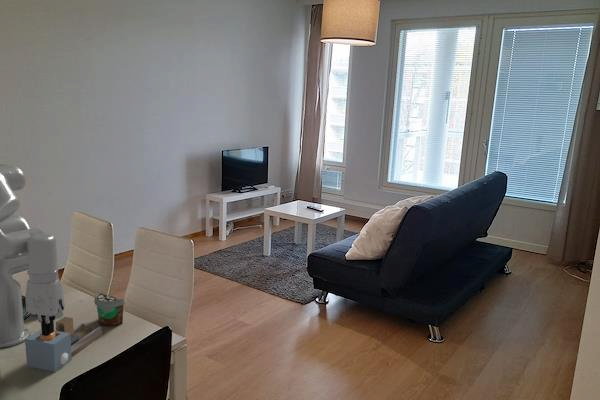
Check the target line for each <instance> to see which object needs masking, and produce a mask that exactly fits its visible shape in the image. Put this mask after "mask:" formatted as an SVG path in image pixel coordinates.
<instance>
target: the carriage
mask: <svg viewBox="0 0 600 400" xmlns="http://www.w3.org/2000/svg"><path fill="white" fill-rule="evenodd" d="M74 329H75V327H74V318H73V317H67V316H63V317H61V318H59V320H57V321H56V322H55V331H60V332H65V333H70V337H71V346H72V345H73V344H75V343H76V342H78V341H79V335H78V334H74Z"/></svg>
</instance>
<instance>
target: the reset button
mask: <svg viewBox="0 0 600 400" xmlns="http://www.w3.org/2000/svg"><path fill="white" fill-rule="evenodd" d="M55 331H56V330H55ZM55 331H54V332H53V333H51V334H50V335H48V336H45V335H42V333H41V334H40V339H41V340H44V341H50V340H52V339H53V338H55Z"/></svg>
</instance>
